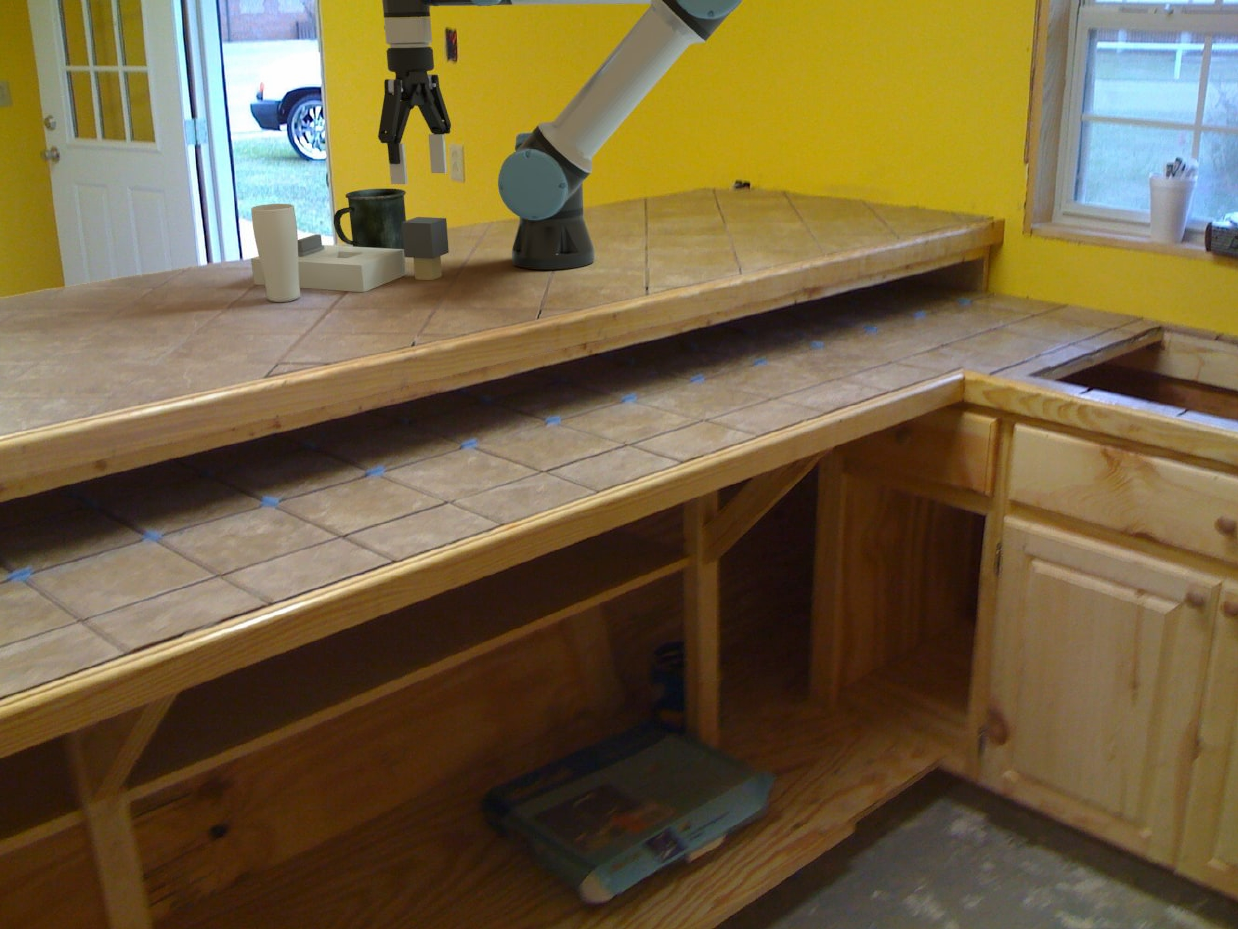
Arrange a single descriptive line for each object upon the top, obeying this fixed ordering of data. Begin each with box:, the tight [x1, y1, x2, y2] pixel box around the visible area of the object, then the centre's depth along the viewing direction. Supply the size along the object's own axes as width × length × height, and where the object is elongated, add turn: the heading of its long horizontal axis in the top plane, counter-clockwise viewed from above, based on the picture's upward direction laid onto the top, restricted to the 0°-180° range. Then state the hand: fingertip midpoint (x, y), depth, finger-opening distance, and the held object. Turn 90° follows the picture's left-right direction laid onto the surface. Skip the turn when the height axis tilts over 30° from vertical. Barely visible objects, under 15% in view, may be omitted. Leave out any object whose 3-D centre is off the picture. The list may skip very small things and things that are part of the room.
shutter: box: [298, 233, 324, 256], centre depth 208 cm, size 6×6×3 cm
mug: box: [333, 188, 407, 249], centre depth 224 cm, size 11×15×12 cm
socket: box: [250, 244, 407, 293], centre depth 207 cm, size 22×14×4 cm, turn 69°
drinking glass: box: [251, 203, 301, 303], centre depth 192 cm, size 7×7×15 cm
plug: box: [401, 216, 450, 281], centre depth 206 cm, size 6×6×10 cm
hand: (419, 178), depth 202 cm, fingers open, 13 cm apart
